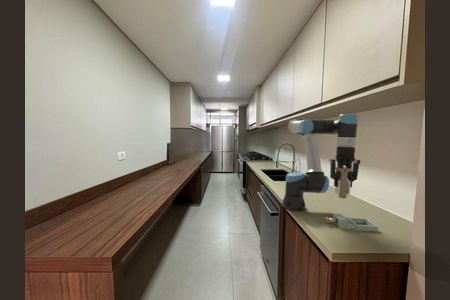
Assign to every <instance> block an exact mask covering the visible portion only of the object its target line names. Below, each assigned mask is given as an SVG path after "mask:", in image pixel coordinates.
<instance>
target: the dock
mask: <svg viewBox="0 0 450 300" xmlns="http://www.w3.org/2000/svg"><path fill="white" fill-rule="evenodd" d="M332 218H333V219H338V223H336V222H333V224H334V225H336V226H337V227H338V228H339V229H342V230H343V229H345V230H356V231H365V232H367V231H368V232H369V231H370V232H379V226H378V225H376V224H375V223H374V222H373V221H370V220H369V219H367V218H366V217H365V218H364V217H348V216H346V217H345V216H344V215H342V214H341V213H332Z"/></svg>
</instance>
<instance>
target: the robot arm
mask: <svg viewBox="0 0 450 300" xmlns="http://www.w3.org/2000/svg"><path fill="white" fill-rule="evenodd" d="M286 128H287V131H288V132H289V133H291V134H294V135H301V136H302V137H301V138H302V139H304V143H305V147H304V148H305V157H306V166H307V171H306V172H305V173H304V172H301V171H300V172H297V171H294V172H289V173H287V174H286V176H285V190H284V191H285V192H284V196H283V199H282V201H281V206H282V207H283V208H284V209H287V210H290V211H293V212H294V211H295V212H301V211H302V212H303V211H305V210H306V207H307V206H306V202H305V199H304V193H308V194H309V193H310V194H311V193H312V194H313V193H314V194H316V193H317V194H325V193H326V192H327V191H328V189H329V187H330V179H332V180H333V186H334V187H335V190H334V192H335V194H336V195H339V194H340V182H341V181H339V178H340V175H341V172H340V171H337V170H336V167H337V168H343V167H347V168H352V169H351V171H350V172H348V174H347V180H348V191H347V196H348V195H350V194H351V188H352V187H353V182H355V181H357V180H358V175H359V166H360V164H361V160H360V159H357V158H356V157H355V154H356V147H355V146H356V141H357V133H358V132H357V131H358V114H356V113H342V114H339V116H338V119H318V118H295V119H294V118H293V119H291V120H289V122H288V123H287V124H286ZM320 135H337V141H336V145H337V146H336V153H335V154H336V155H335V157H334V158H329V163H330V173H329V174H330V175H329V177H330V179H329V177H328V176H327V175H325V171H323V170H322V164H321V156H320V148H319V147H320V146H319V145H320V144H319V137H320ZM352 163H353V164H352Z"/></svg>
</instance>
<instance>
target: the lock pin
mask: <svg viewBox="0 0 450 300" xmlns="http://www.w3.org/2000/svg"><path fill="white" fill-rule="evenodd" d="M324 222H325V224H330V223H334V222H336V223H338V219H333V217H332V218H329V216H325V217H324Z"/></svg>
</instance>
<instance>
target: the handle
mask: <svg viewBox="0 0 450 300" xmlns="http://www.w3.org/2000/svg"><path fill="white" fill-rule="evenodd" d="M351 169H353V167H352V168H347V167H345V166H344V167H343V168H337V166H336V170H337V171H340V172H341V175H340V178H339V181H341V182H340V194H338V198H340V199H347V197H348V194H347V191H348V178H347V174H348V172H350V171H351Z"/></svg>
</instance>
